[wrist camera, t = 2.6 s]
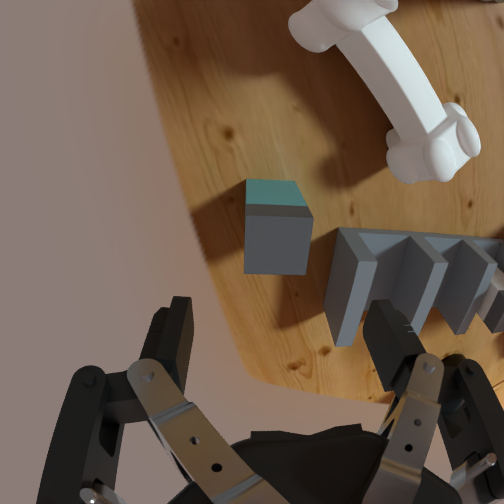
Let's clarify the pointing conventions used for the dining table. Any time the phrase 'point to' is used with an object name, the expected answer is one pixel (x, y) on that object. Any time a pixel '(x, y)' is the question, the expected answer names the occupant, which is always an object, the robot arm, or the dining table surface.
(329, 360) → the dining table surface
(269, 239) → the teal plug
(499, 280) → the offwhite plug
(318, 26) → the bone shaped toy
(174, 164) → the dining table surface
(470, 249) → the grey piece
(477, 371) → the robot arm
